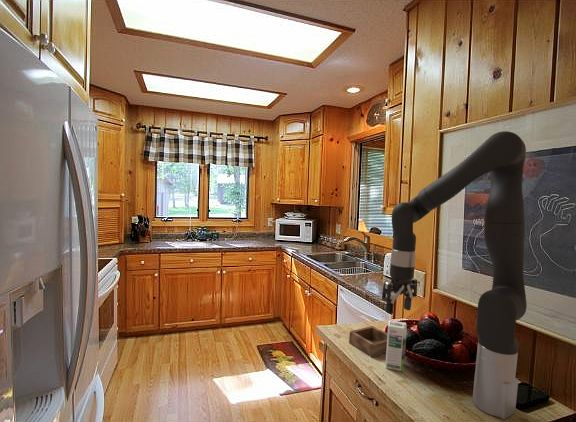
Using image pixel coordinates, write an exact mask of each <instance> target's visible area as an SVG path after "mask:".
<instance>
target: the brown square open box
mask: <svg viewBox="0 0 576 422" xmlns="http://www.w3.org/2000/svg"><path fill="white" fill-rule="evenodd" d="M387 336H388V332H385V331H383V330H382V329H379V328H377V327H376V326H374V325H371V326H366V327H362V328H358V329H355V330H351V331H349V337H348V344H350V345H351V346H353V347H355V348H356V349H358V350H360V351H361V352H362V353H364V354H366V355H367V356H369V357H370V358H371V359H373V358H376V357H380V356H383V355H386V350H387Z"/></svg>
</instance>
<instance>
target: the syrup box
mask: <svg viewBox="0 0 576 422" xmlns="http://www.w3.org/2000/svg"><path fill="white" fill-rule="evenodd" d="M387 324H388V325H387V334H388V336H387V350H386V354H385V369H387V370H388V369H389V370H390V369H391V370H394V371H399V372H403V373H404V371H405V359H406V358H405V357H406V346H407V345H406V344H407V331H408V330H407V322H404V321H403V322H402V321H396V320H391V319H389V320H388V323H387Z"/></svg>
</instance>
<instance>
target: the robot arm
mask: <svg viewBox="0 0 576 422" xmlns="http://www.w3.org/2000/svg"><path fill="white" fill-rule="evenodd" d="M526 153H527V148H526V144H525V142H524V140H523V139H522V138H521V137H520V136H519V135H518V134H516V133H515V132H513V131H512V132H511V131H499V132H495V133H494V134H492V135H490V137H488V138H487V139H486V140H485V141H484V142H482V143H481V145H479V146H478V147H477V148H476V149H475V150H474V151H473V152H472V153H471V154H469V155H468V156H467V157H465V159H463V161H461V162H460V163H459V164H457V165H456V166H455V167H453V168H451V169H450V170H448V171H447V172H446V173H444V174H443V175H441V176H439V177H438V178H437V179H436V180H434V181H432V182H431V183H430V184H428V185H427V186H425V187H424V188H422V189H421V190H420V191H418V193H417V195H416V196H415V197H413V198H412V199H411V200H409V201H405V202H398V203H397V204H396V205H394V207H393V209H392V212H391V226H392V233H393V238H392V249H391V253H390V254H391V255H390V267H389V276H390V278H391V280H390V282H388V281H384V282H383V284H382V285H383V286H382V291H381V292H382V295H381V300H382V301H384V302H386V303H385V306H386V307H385V312H386V313H387V314H389V315H393V314H394V308H395V307H394V306H395V304H394V303H395V300H396V299H398V298H399V297H400V296H402V295H404V299H403V300H404V301H403V309H404V310H406V311H411V308H412V302H413V301H412V300H413V299H414V297H415V298H417V295H418V279H416V278H414V277H415V267H416V244H417V238H416V237H417V236H416V234H415V233H414V224H415V223H416V222H418V221H421V219H424V217H425V216H426V215H428V214H429V213H430V212H432V211H433V210H435V209H437V208H438V207H440V206H441V205H443V204H445V203H446V202H448V201H449V200H451V199H453V198H455V197H456V196H457V195H458V194H459V193H460V192H462V190H464V189H465V188H467V186H469V185H470V184H471V183H473V182H474V181H476V180H477V179H479V178H481V176H484V175H485V174H487V173H489V177H490V186H489V187H490V189H489V193H488V198H487V202H486V206H485V211H484V220H483V222H484V225H483V226H484V227H483V233H484V234H483V235H484V238H483V239H484V244H485V247H486V250H487V253H488V255H489V258H490V261H491V264H492V285H491V289H490V290H487V291H485V292H483V293H482V294H481V295H480V297H479V299H478V302H477V310H476V334H477V336H478V338H477V340H478V341H477V351H476V359H475V360H476V361H475V370H474V371H475V372H474V379H473V380H474V382H473V392H472V402H473V404H474V406H475V407H476V408H478V409H479V410H480V411H482V412H484V413H486V414H488V415H491V416H493V417H497V418H499V419H502V420H506V419H508V418H509V417H510V416H512V415H514V414H515V413H516V406H517V398H518V397H517V396H518V388H519V379H518V378H517V377H516V372H517V366H518V365H517V363H518V355H519V347H520V343H519V340H517V338H516V325H517V324H516V322H517V321H519V320H520V319H522V318H523V317H524V316H525V314H526V311H527V308H528V307H527V306H528V305H527V295H526V288H525V286H526V285H525V277H524V261H525V260H524V259H525V236H526V234H525V233H526V228H525V227H526V225H525V223H526V221H525V219H526V218H525V203H524V196H523V188H522V187H523V184H522V183H523V174H524V165H525V158H526Z"/></svg>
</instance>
